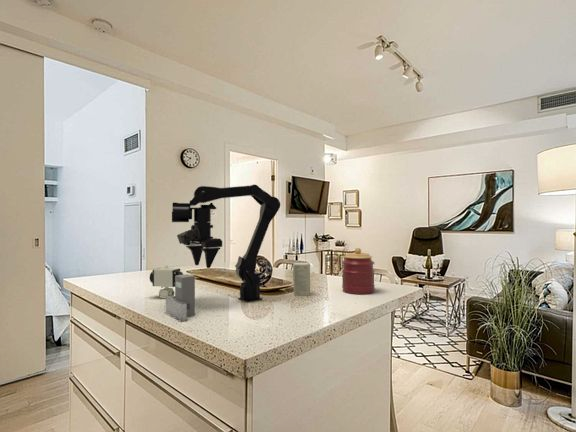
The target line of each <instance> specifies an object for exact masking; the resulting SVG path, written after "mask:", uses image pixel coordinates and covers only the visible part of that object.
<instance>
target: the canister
mask: <svg viewBox="0 0 576 432" xmlns="http://www.w3.org/2000/svg"><path fill="white" fill-rule="evenodd" d="M343 258H344V259H343V260H342V261H341V264H342V267H343V268H342V270H341V272H342V273H341V274H342V284H341V287H342V291H343V292H344V293H347V294H354V295H369V294H373V293H374V292H375V289H376V288H375V286H376V285H375V270H374V265H375V262H374V261H373V259H372V258H373V256H372V255H370V254H369V253H366V252H362V250H361V248H360V247H356V248H355V249H354V252H348V253H347V254H345V255H343Z"/></svg>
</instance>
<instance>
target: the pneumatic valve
mask: <svg viewBox="0 0 576 432" xmlns="http://www.w3.org/2000/svg"><path fill="white" fill-rule="evenodd" d="M176 275H184V272H182V271H181V268H174V267H173V268H170V267H169V266H168V265H165V266H164V267H158V268H154V269H152V271H151V272H150V273H149V281H150V283H151V285H152V287H160V288H161V289H159V291H158V296H159V298H160V299H165V300H166V296H172V297H175V289H174V288H175V276H176Z"/></svg>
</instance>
